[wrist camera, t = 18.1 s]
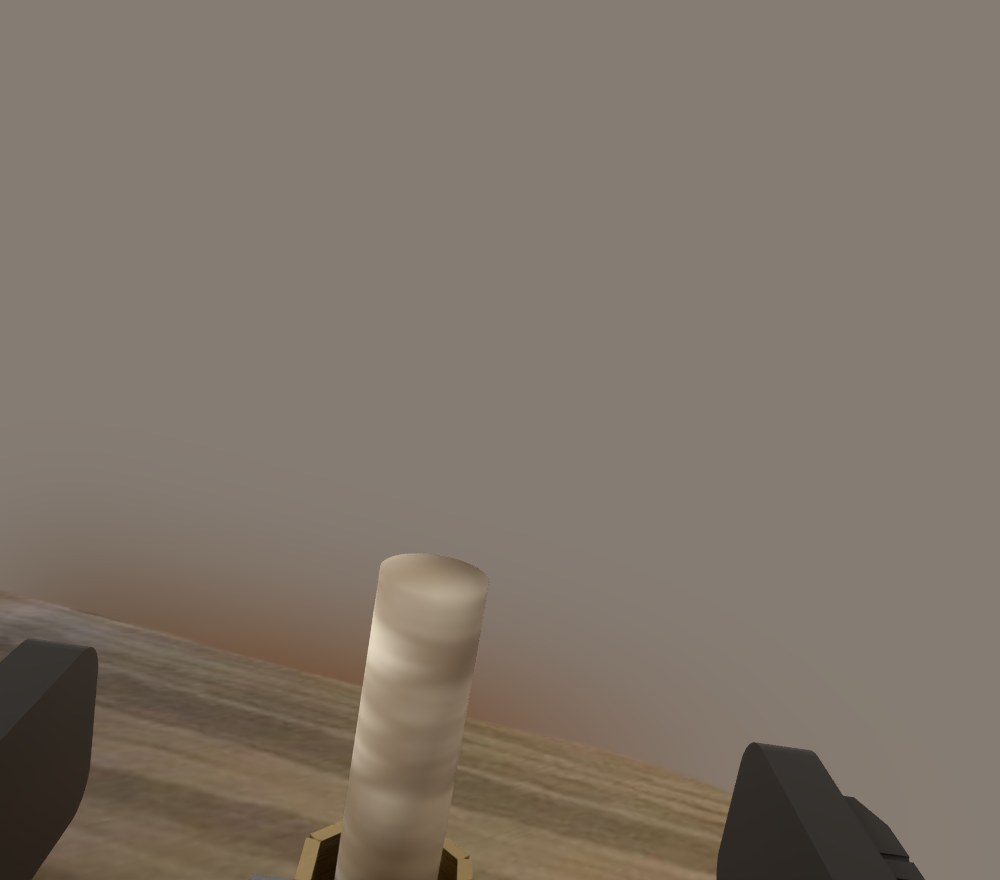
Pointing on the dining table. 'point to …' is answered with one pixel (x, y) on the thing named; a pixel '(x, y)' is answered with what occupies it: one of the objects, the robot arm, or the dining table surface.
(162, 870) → the dining table surface
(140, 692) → the dining table surface
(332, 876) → the cup bracket
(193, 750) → the dining table surface
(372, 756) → the cylindrical post
